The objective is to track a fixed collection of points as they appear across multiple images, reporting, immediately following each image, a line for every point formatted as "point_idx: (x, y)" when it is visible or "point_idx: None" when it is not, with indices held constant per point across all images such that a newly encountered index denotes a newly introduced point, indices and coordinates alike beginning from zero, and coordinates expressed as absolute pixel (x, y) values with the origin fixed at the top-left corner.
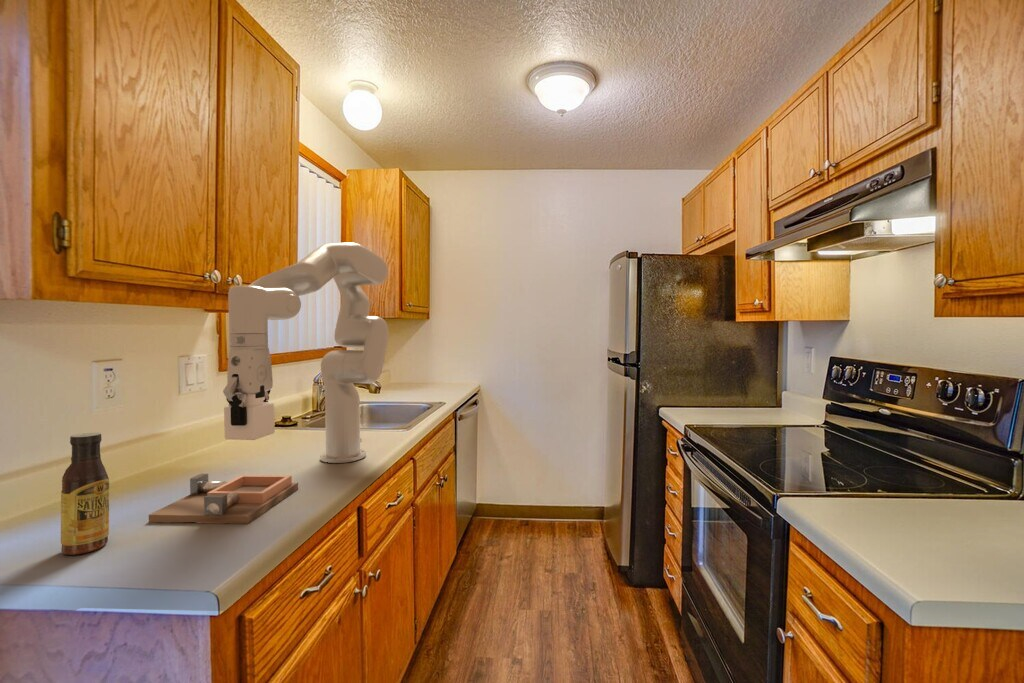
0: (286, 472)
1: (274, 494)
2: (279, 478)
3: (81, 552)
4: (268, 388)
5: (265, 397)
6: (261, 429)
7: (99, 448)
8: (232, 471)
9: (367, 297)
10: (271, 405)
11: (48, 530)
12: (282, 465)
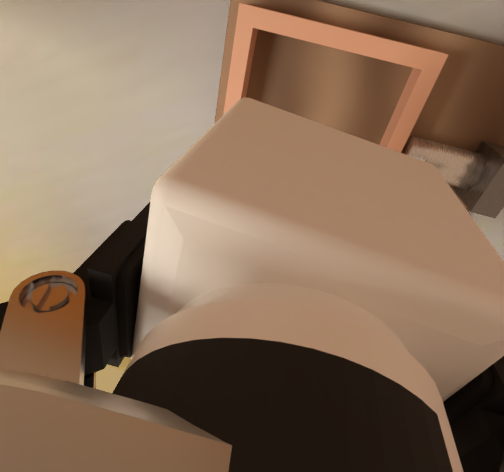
0: (70, 89)
1: (365, 33)
2: (250, 53)
3: None
4: (60, 427)
5: (83, 316)
6: (382, 160)
7: None
8: (84, 233)
9: None
10: (227, 188)
11: None
12: (11, 123)
